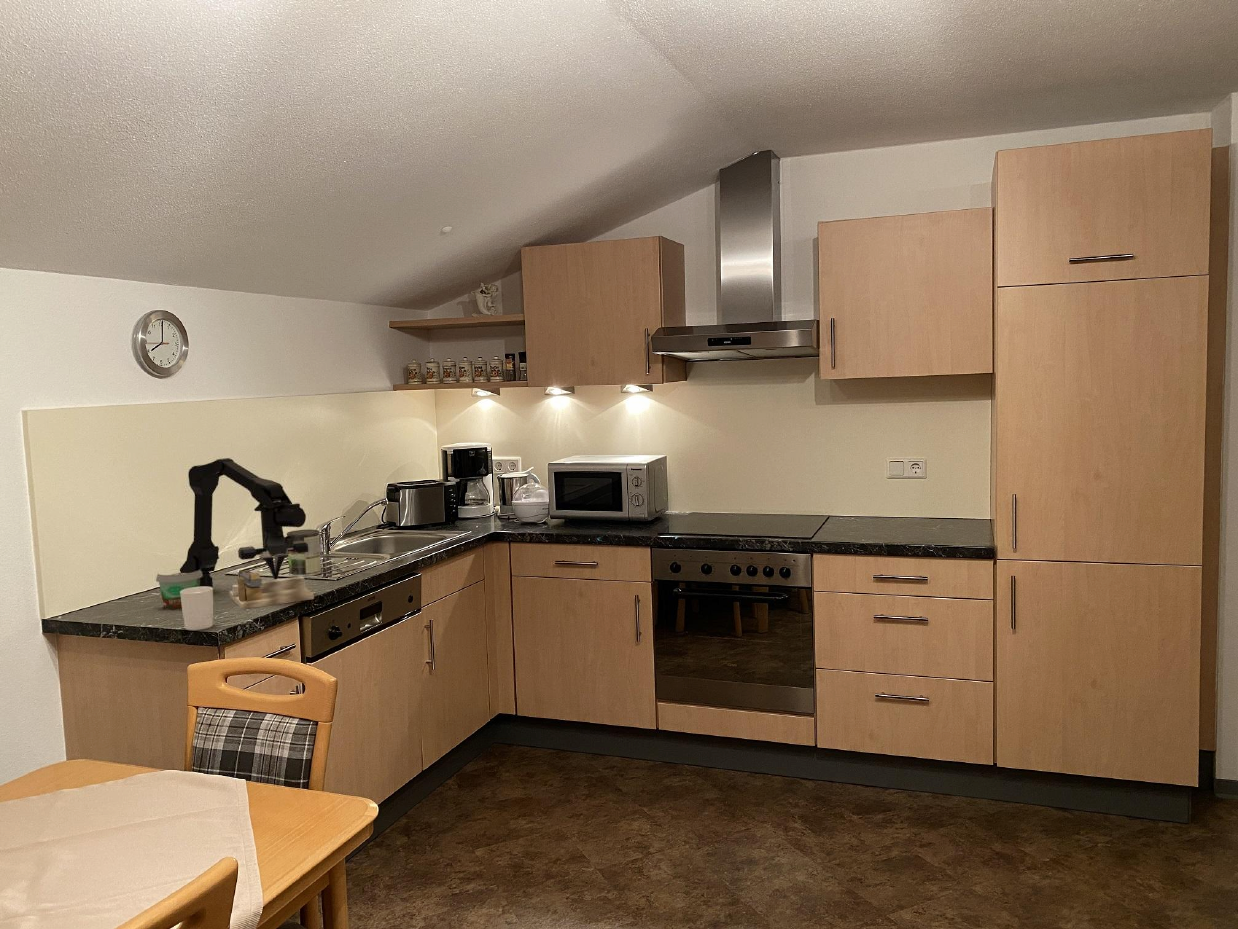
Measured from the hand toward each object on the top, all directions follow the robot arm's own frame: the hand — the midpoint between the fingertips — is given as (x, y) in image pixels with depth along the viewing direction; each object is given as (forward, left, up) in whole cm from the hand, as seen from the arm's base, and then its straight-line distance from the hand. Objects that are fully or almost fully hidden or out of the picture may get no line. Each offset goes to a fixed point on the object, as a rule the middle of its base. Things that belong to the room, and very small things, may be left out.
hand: (275, 579), depth 279 cm
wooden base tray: (-1, +4, -6) cm, 8 cm away
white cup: (-24, -20, -7) cm, 32 cm away
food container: (-25, +8, -7) cm, 27 cm away
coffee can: (+16, +34, -7) cm, 38 cm away
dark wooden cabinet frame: (-6, +4, -1) cm, 8 cm away
